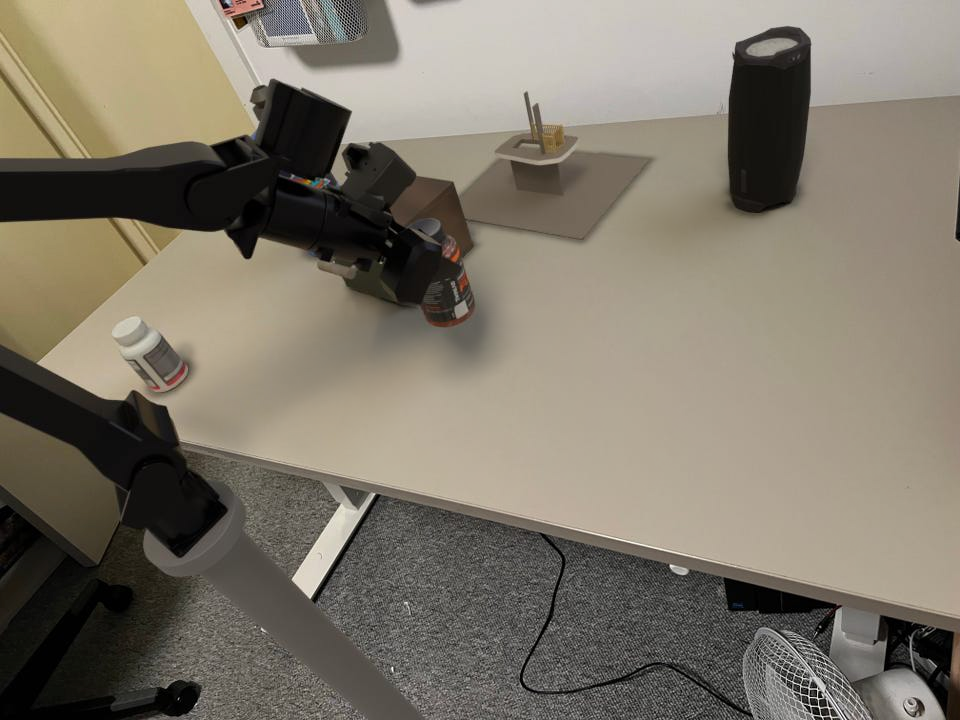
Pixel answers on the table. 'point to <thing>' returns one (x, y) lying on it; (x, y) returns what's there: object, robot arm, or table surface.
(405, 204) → the cabinet
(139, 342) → the pill bottle
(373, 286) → the drawer
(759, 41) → the portable speaker
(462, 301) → the supplement bottle
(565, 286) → the table surface
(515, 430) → the table surface
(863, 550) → the table surface
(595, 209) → the architectural model
